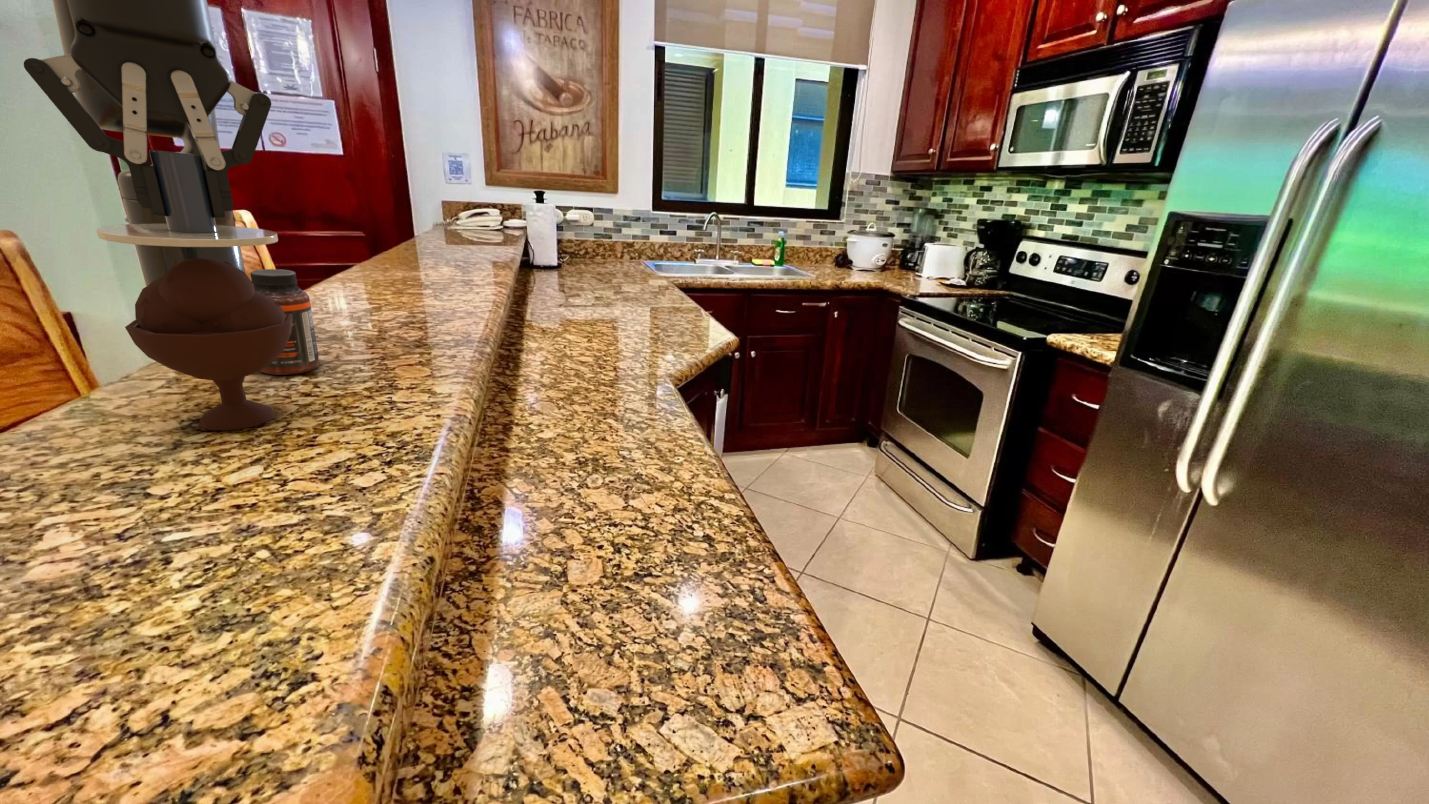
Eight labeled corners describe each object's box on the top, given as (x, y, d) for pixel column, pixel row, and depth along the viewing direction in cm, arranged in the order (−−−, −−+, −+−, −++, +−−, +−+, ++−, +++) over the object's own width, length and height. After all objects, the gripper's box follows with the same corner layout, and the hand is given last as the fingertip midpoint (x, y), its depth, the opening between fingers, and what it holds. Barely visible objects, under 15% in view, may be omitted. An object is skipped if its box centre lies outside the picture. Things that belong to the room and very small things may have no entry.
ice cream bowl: (335, 405, 57) (312, 256, 51) (237, 451, 46) (194, 270, 41) (239, 392, 57) (205, 243, 52) (120, 435, 47) (63, 254, 41)
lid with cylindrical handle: (102, 228, 46) (77, 142, 43) (269, 232, 53) (255, 158, 51) (93, 246, 38) (63, 143, 36) (288, 248, 46) (273, 162, 43)
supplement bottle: (250, 377, 61) (228, 275, 57) (265, 361, 66) (246, 266, 62) (315, 375, 63) (298, 276, 59) (325, 360, 68) (310, 268, 64)
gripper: (252, 1, 46) (288, 216, 52) (-17, -64, 37) (65, 207, 43) (264, -15, 41) (303, 224, 47) (-43, -95, 32) (54, 216, 38)
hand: (189, 215), depth 45 cm, fingers closed on lid with cylindrical handle, 3 cm apart
